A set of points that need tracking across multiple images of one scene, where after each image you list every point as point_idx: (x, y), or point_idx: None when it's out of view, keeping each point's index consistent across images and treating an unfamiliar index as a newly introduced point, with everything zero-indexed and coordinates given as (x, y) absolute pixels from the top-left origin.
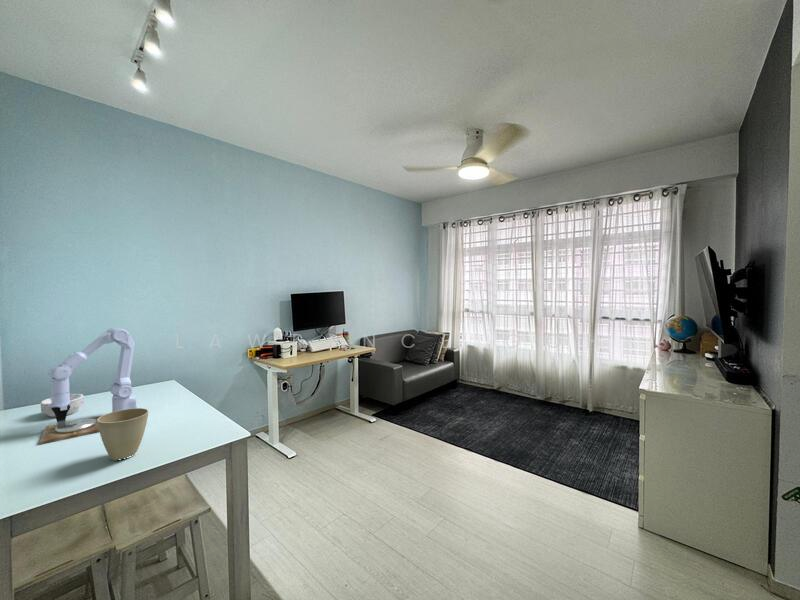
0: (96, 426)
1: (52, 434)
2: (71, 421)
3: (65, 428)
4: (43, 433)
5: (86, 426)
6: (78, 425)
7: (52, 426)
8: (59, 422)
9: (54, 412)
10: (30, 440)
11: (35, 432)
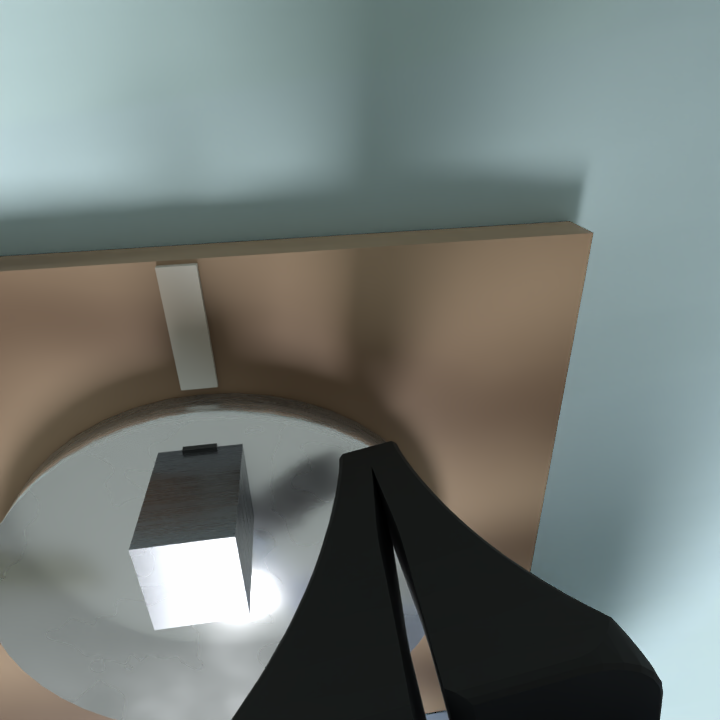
0: None
1: (47, 387)
2: None
3: (97, 539)
4: (185, 260)
5: (72, 696)
6: (156, 634)
7: (506, 316)
8: (140, 555)
9: (254, 690)
10: (68, 85)
11: (513, 92)
